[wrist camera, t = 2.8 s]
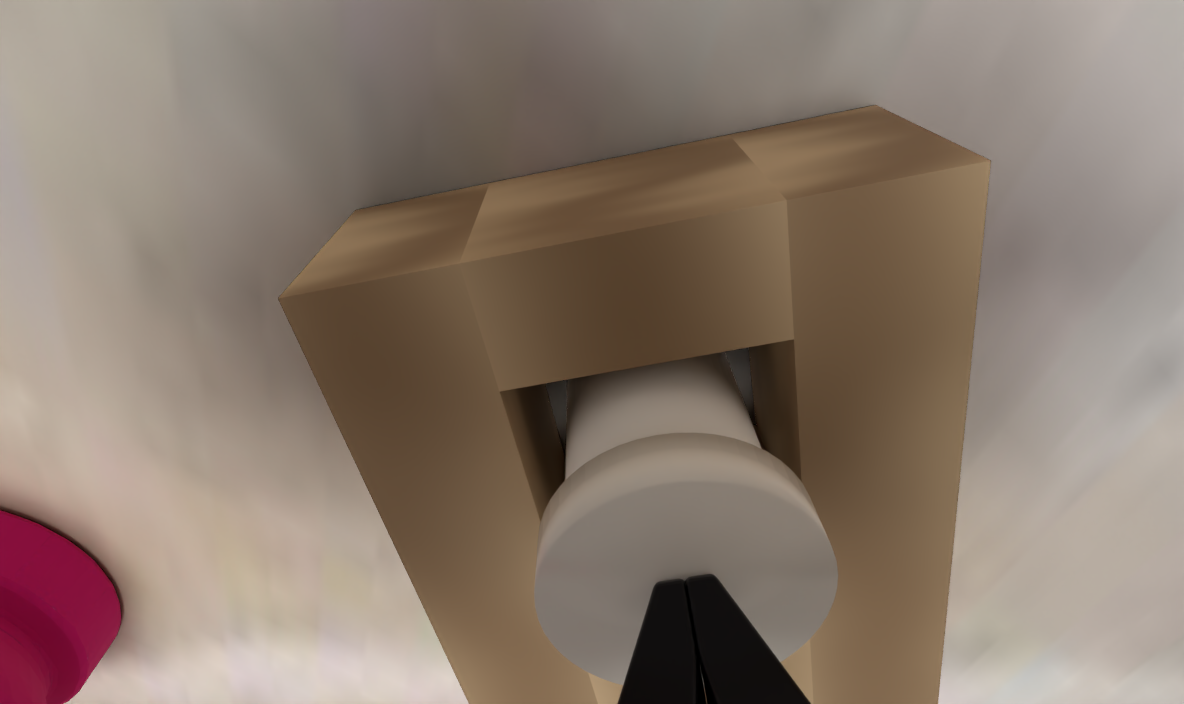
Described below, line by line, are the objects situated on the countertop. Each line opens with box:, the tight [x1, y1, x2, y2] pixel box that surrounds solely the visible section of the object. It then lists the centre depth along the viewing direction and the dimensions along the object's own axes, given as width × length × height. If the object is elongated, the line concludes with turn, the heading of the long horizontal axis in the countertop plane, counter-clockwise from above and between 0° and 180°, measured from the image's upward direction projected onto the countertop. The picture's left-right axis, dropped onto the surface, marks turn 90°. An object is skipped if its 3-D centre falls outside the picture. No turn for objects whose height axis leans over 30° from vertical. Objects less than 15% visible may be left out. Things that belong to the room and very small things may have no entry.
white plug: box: [534, 352, 838, 685], centre depth 12 cm, size 4×4×6 cm
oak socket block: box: [278, 105, 991, 704], centre depth 16 cm, size 10×19×4 cm, turn 11°
